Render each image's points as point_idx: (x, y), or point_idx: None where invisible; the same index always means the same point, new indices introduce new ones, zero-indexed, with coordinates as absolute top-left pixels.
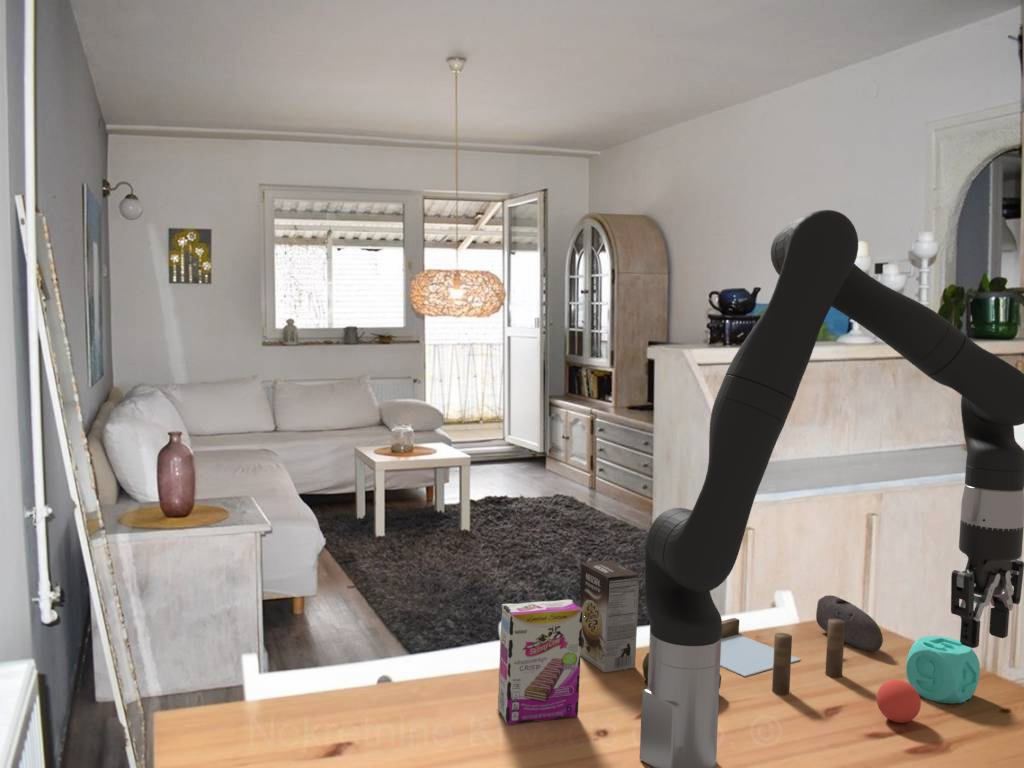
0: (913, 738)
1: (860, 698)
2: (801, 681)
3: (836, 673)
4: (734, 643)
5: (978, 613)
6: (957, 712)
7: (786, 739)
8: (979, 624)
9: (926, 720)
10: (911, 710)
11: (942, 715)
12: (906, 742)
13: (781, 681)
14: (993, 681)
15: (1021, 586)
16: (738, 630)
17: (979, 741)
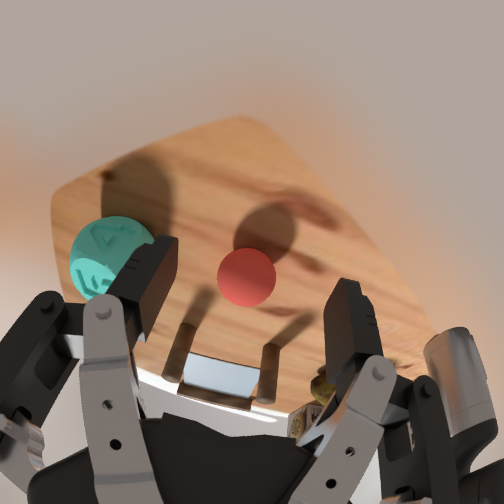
0: (289, 232)
1: (221, 300)
2: (230, 343)
3: (191, 329)
4: (204, 383)
5: (382, 384)
6: (161, 214)
7: (378, 317)
8: (359, 340)
9: (218, 234)
10: (262, 258)
11: (186, 225)
12: (308, 235)
13: (278, 358)
14: (57, 213)
15: (2, 341)
16: (179, 384)
17: (228, 165)
